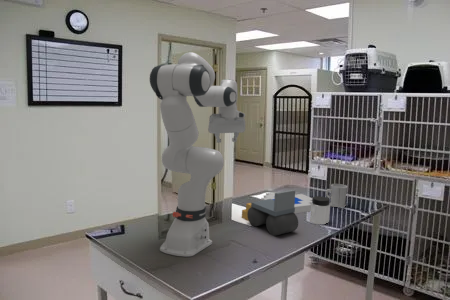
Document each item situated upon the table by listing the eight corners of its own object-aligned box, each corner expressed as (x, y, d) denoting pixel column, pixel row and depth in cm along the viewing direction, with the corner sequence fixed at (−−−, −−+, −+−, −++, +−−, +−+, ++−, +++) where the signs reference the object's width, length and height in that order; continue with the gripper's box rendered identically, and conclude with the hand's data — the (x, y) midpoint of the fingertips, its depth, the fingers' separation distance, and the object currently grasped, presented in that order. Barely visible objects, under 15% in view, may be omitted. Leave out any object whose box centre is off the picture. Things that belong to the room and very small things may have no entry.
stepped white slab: (324, 203, 193) (281, 208, 181) (323, 210, 194) (281, 215, 182) (293, 190, 218) (254, 194, 206) (293, 196, 219) (253, 200, 207)
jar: (307, 219, 177) (308, 196, 175) (321, 218, 179) (323, 195, 177) (316, 225, 168) (318, 201, 166) (331, 224, 171) (333, 200, 169)
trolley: (298, 233, 158) (301, 191, 155) (279, 238, 151) (281, 195, 148) (265, 218, 175) (267, 181, 173) (246, 223, 168) (248, 184, 166)
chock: (241, 217, 176) (242, 202, 175) (250, 215, 179) (250, 200, 178) (250, 221, 171) (251, 205, 169) (259, 220, 174) (260, 204, 173)
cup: (334, 209, 195) (336, 188, 193) (323, 204, 203) (325, 184, 202) (349, 207, 199) (351, 186, 198) (338, 203, 208) (339, 183, 206)
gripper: (213, 114, 163) (212, 143, 165) (247, 114, 175) (246, 142, 177) (206, 113, 168) (205, 142, 170) (240, 113, 180) (238, 140, 182)
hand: (226, 142), depth 174 cm, fingers open, 8 cm apart
